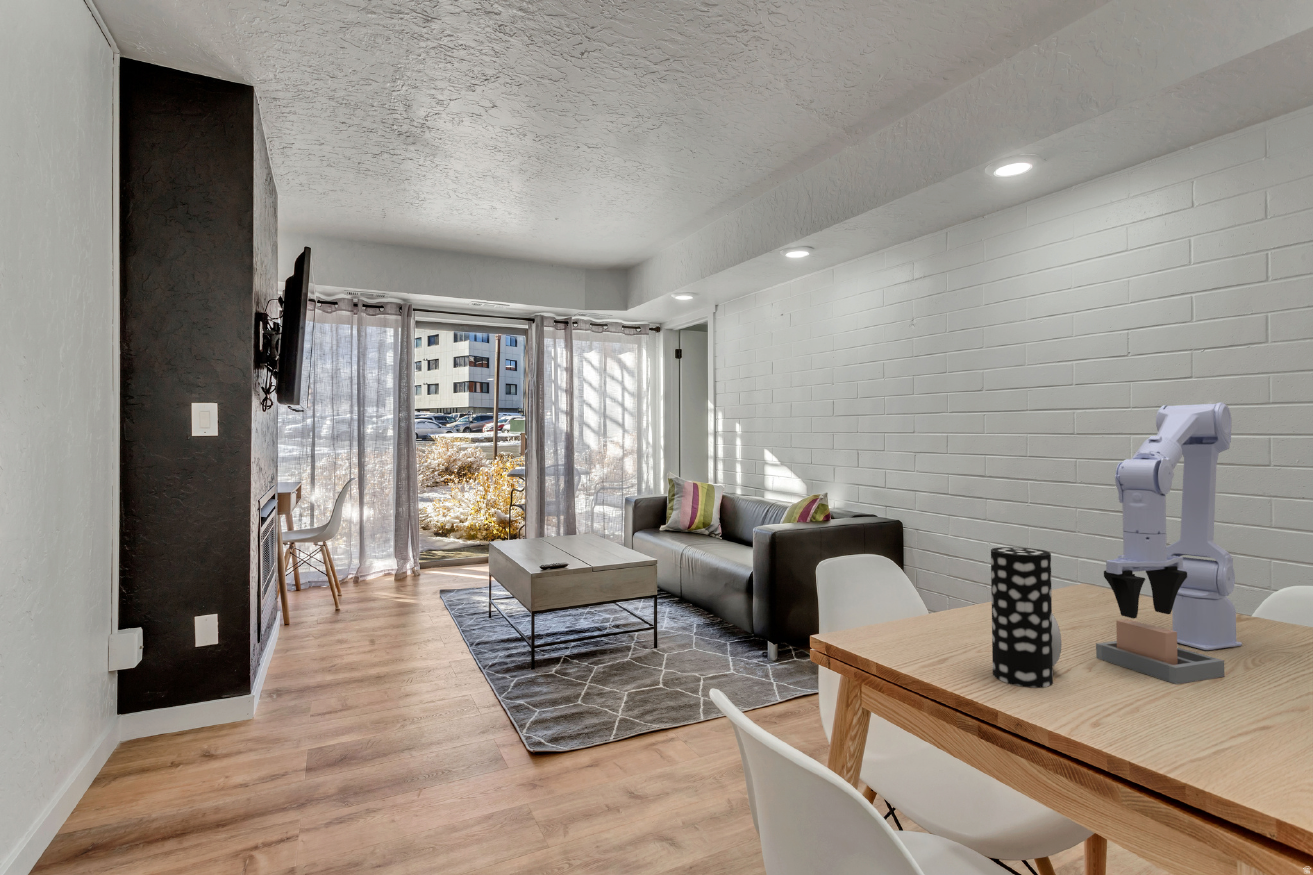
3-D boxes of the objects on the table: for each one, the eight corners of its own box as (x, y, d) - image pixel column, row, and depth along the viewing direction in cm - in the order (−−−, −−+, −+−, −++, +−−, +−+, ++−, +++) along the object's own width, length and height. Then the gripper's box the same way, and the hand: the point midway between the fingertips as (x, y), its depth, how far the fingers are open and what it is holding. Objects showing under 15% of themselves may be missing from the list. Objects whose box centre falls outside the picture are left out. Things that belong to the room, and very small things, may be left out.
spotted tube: (980, 673, 105) (978, 549, 105) (1017, 666, 108) (1015, 545, 108) (1027, 691, 97) (1025, 557, 98) (1065, 682, 100) (1063, 553, 101)
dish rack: (1141, 651, 115) (1141, 637, 115) (1224, 676, 103) (1224, 660, 103) (1096, 657, 112) (1096, 643, 112) (1176, 684, 99) (1175, 667, 99)
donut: (1066, 678, 103) (1065, 614, 103) (1042, 676, 103) (1041, 613, 103) (1040, 657, 112) (1039, 599, 113) (1018, 656, 113) (1017, 599, 113)
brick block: (1128, 660, 111) (1127, 619, 111) (1177, 676, 103) (1176, 631, 103) (1117, 661, 110) (1116, 620, 110) (1166, 677, 102) (1165, 633, 102)
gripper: (1151, 527, 113) (1153, 605, 113) (1088, 531, 109) (1089, 612, 108) (1195, 532, 106) (1197, 615, 106) (1129, 536, 102) (1131, 623, 102)
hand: (1146, 614), depth 107 cm, fingers open, 7 cm apart
